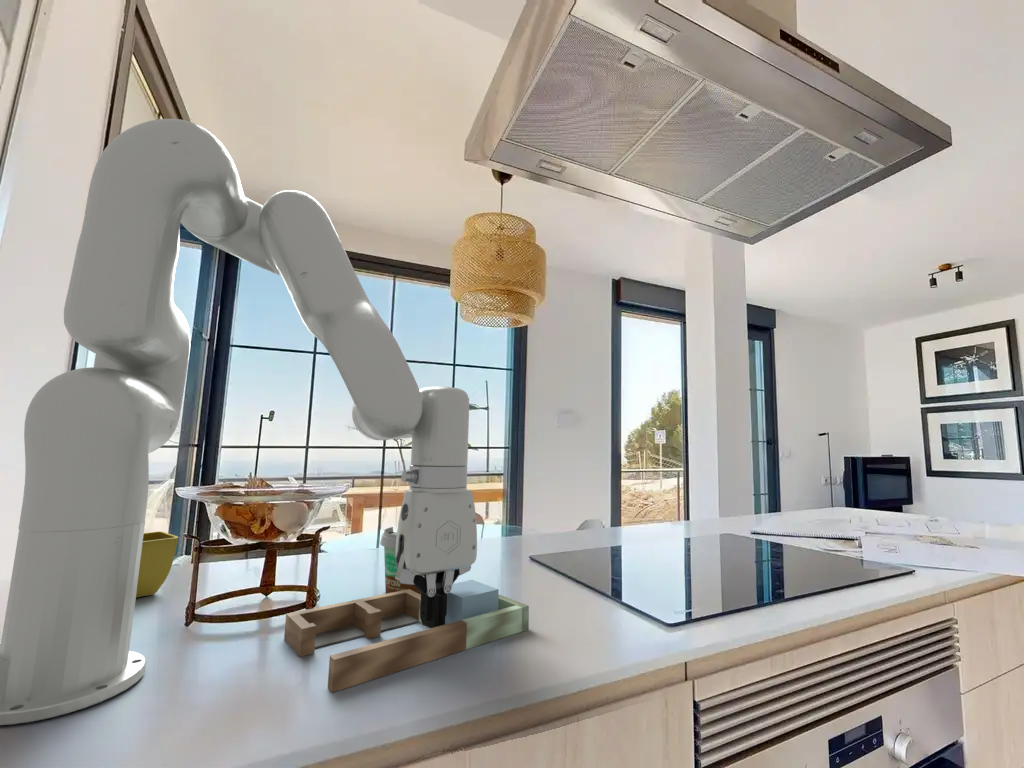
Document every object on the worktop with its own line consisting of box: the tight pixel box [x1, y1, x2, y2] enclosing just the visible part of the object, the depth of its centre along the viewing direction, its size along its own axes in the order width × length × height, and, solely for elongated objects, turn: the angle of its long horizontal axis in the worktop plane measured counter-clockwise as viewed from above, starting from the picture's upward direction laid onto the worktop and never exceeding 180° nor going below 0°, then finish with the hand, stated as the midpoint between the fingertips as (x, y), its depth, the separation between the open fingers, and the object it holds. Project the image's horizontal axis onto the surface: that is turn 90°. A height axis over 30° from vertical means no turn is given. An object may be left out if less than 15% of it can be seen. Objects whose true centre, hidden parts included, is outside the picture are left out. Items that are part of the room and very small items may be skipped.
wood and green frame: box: [283, 589, 530, 693], centre depth 60 cm, size 26×17×3 cm, turn 131°
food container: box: [379, 526, 421, 594], centre depth 77 cm, size 12×6×10 cm, turn 62°
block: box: [445, 579, 499, 624], centre depth 63 cm, size 6×6×5 cm
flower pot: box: [136, 530, 179, 598], centre depth 74 cm, size 9×9×9 cm
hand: (432, 625), depth 59 cm, fingers closed
